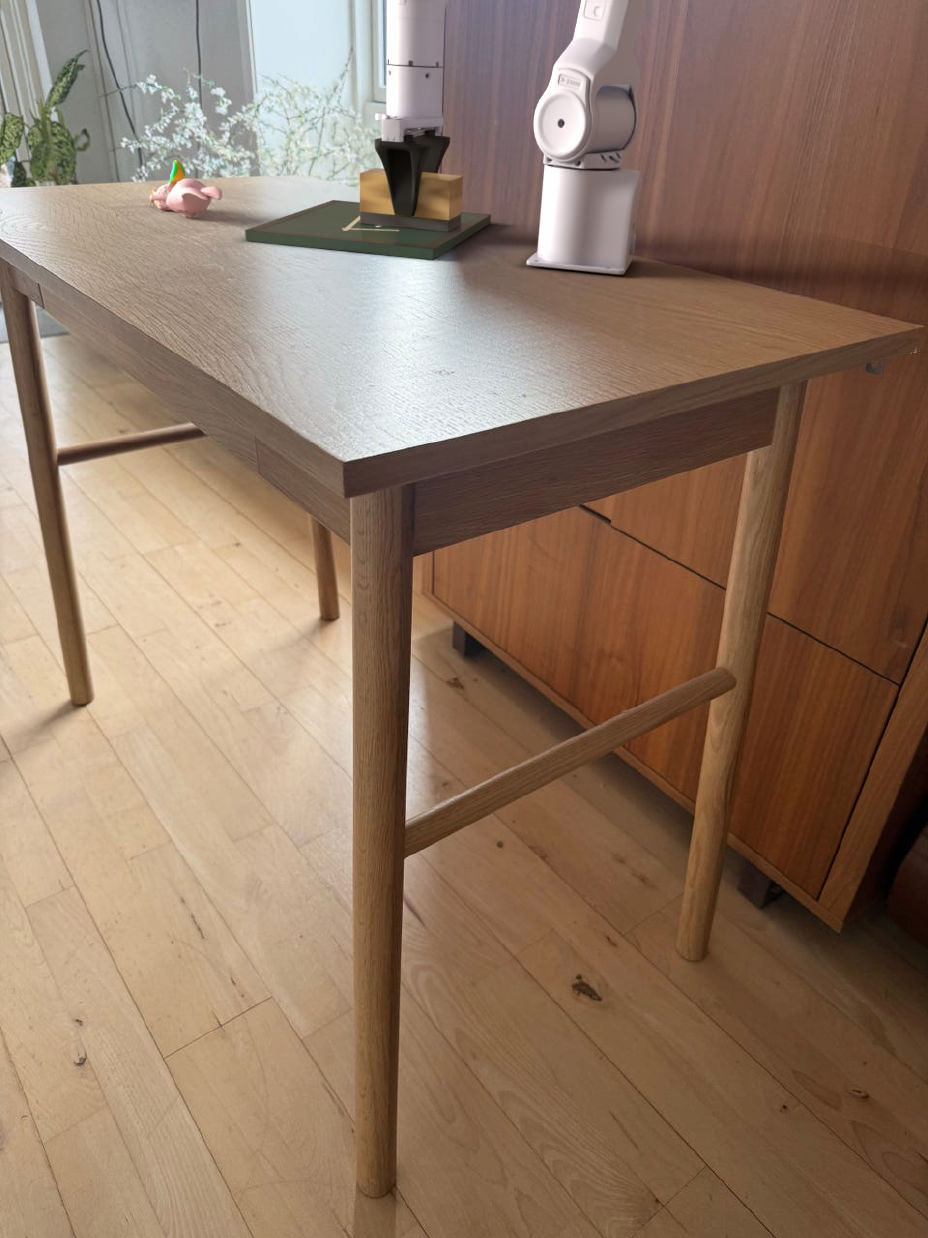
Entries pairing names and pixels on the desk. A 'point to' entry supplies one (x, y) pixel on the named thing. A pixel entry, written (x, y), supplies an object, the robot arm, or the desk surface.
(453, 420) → the desk surface
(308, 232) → the chalkboard
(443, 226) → the eraser
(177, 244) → the desk surface
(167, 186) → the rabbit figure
